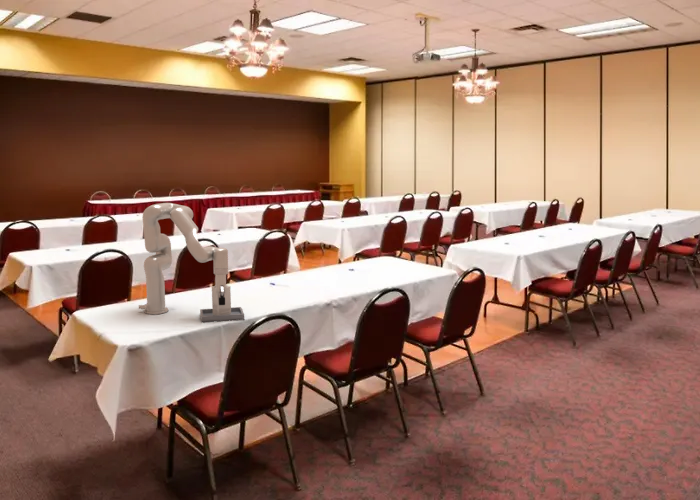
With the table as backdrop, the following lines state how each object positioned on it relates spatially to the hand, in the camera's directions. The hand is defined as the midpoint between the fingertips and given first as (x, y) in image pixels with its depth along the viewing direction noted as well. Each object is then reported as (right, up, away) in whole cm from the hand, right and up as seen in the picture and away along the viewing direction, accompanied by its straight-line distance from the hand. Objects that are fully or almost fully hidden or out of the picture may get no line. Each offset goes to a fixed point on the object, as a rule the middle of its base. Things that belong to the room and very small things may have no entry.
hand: (221, 302), depth 329 cm
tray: (0, -8, +1) cm, 8 cm away
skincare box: (0, -7, +1) cm, 7 cm away
